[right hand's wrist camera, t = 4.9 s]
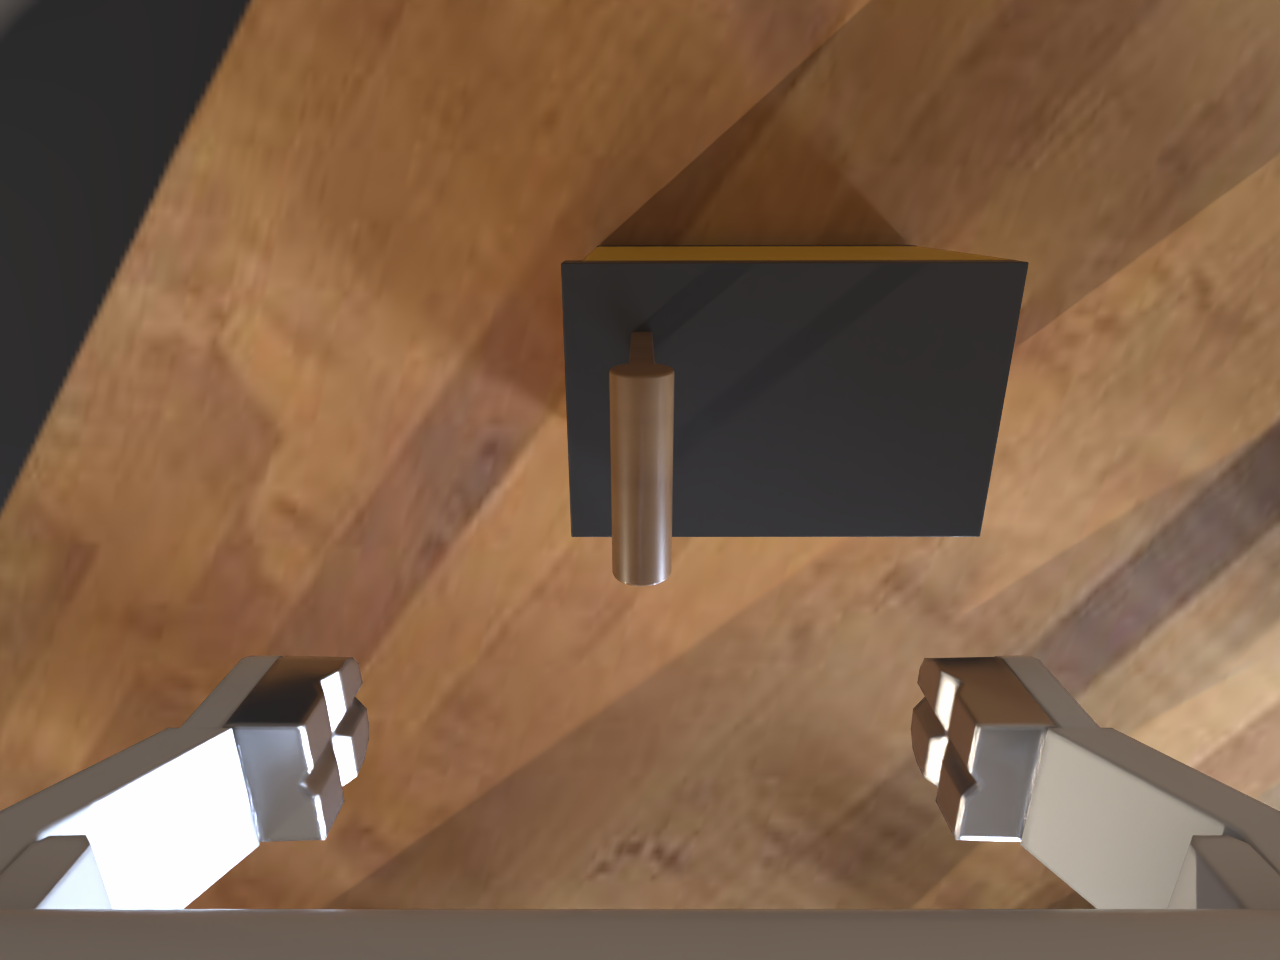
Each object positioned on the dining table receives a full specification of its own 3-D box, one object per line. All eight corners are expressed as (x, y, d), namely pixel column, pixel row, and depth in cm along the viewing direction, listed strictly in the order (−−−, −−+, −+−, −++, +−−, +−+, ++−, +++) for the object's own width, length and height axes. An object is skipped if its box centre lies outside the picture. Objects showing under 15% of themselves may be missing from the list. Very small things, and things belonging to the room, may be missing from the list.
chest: (602, 445, 38) (589, 524, 28) (598, 245, 34) (581, 260, 25) (885, 444, 38) (967, 524, 28) (909, 244, 34) (1012, 259, 25)
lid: (574, 525, 28) (546, 653, 20) (564, 260, 25) (526, 286, 17) (967, 524, 28) (1099, 653, 20) (1012, 259, 25) (1195, 285, 17)
